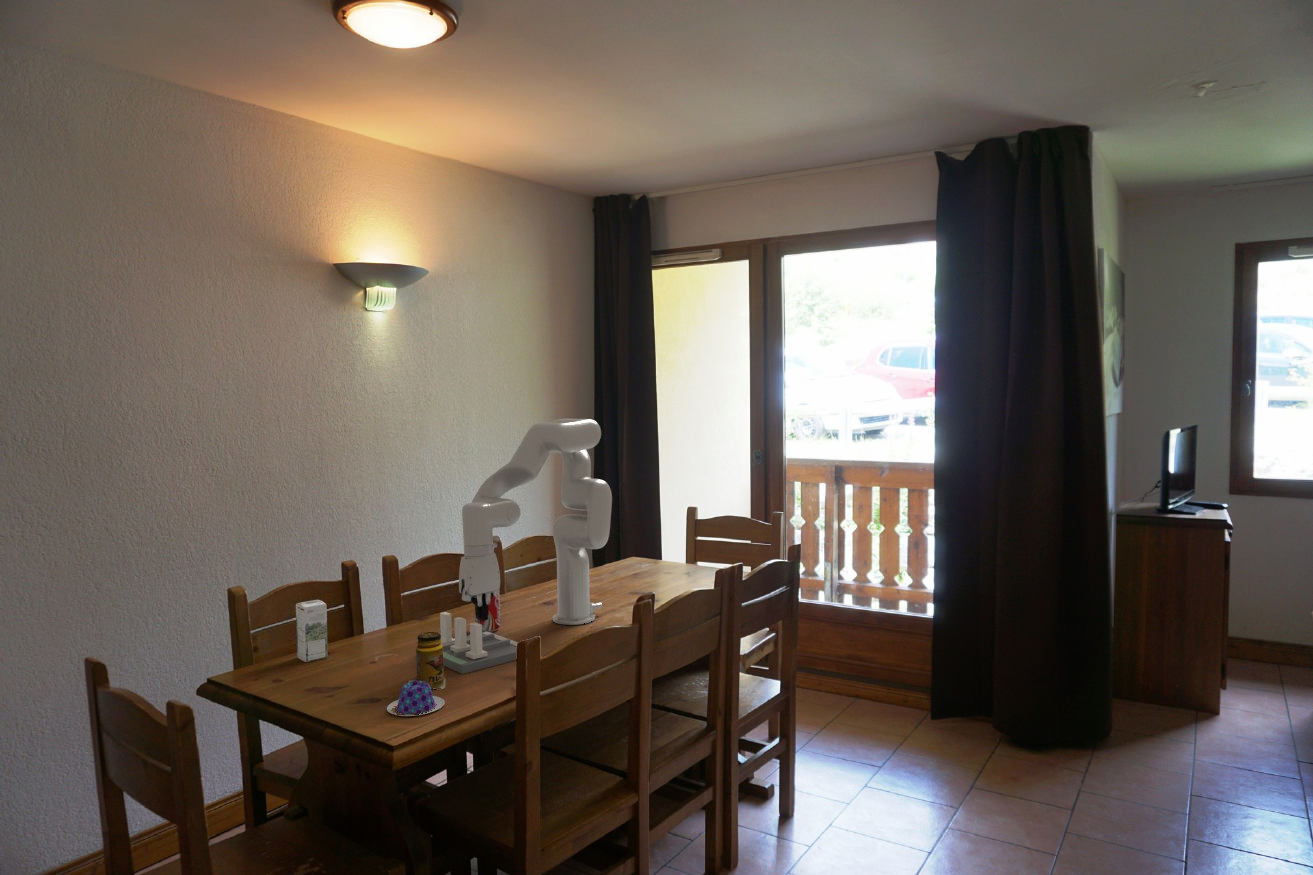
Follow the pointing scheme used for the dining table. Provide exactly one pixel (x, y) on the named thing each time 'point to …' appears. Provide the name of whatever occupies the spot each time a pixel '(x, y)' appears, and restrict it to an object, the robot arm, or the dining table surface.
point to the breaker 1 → (446, 628)
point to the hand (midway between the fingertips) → (482, 619)
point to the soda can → (491, 615)
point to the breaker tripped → (460, 635)
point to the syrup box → (311, 630)
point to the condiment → (430, 660)
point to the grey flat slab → (496, 651)
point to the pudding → (416, 699)
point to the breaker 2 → (476, 642)
